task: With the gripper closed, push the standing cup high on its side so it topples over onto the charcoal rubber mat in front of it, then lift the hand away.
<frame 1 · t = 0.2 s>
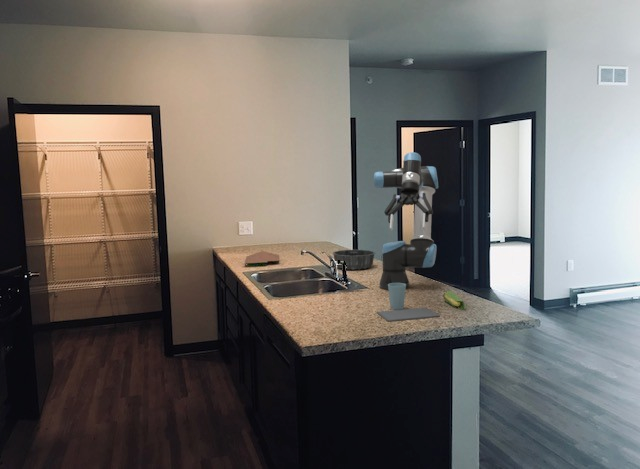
hand: (407, 228, 222), 35 cm above the worktop, tool tilted 35°, fingers open, 13 cm apart
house: (262, 263, 367), on the worktop
edible corn: (454, 306, 234), on the worktop
cup: (397, 308, 232), on the worktop
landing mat: (407, 314, 220), on the worktop
bundt pan: (354, 268, 335), on the worktop
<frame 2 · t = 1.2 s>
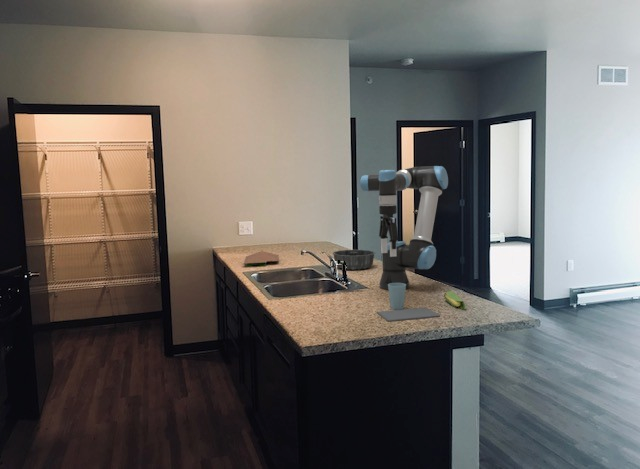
hand: (388, 254, 239), 22 cm above the worktop, tool pointing down, fingers open, 11 cm apart
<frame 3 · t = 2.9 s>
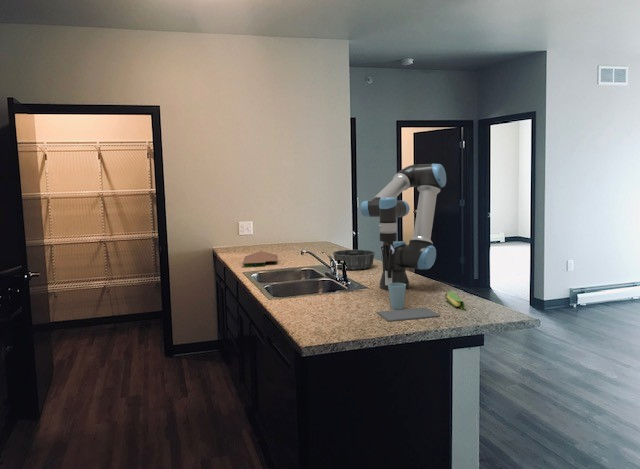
hand: (388, 284, 240), 8 cm above the worktop, tool pointing down, fingers closed
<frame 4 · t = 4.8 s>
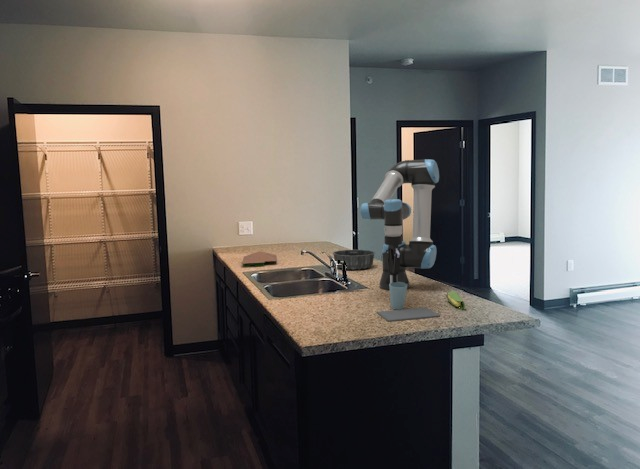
hand: (393, 289, 234), 8 cm above the worktop, tool pointing down, fingers closed
cup: (397, 307, 232), on the worktop, touching gripper
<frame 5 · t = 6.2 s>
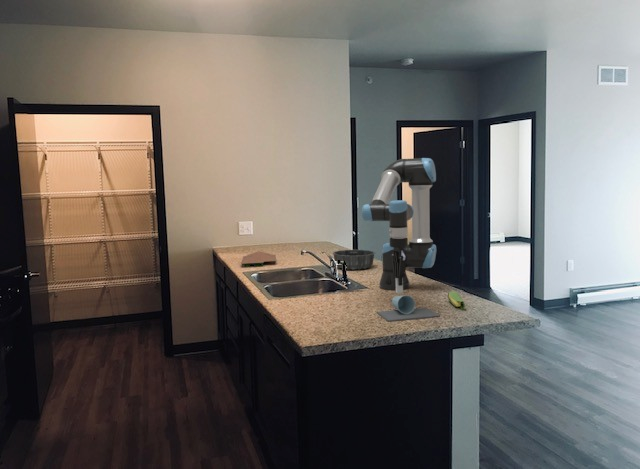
hand: (399, 292, 228), 7 cm above the worktop, tool pointing down, fingers closed
cup: (397, 302, 229), point 3 cm above the worktop, touching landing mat
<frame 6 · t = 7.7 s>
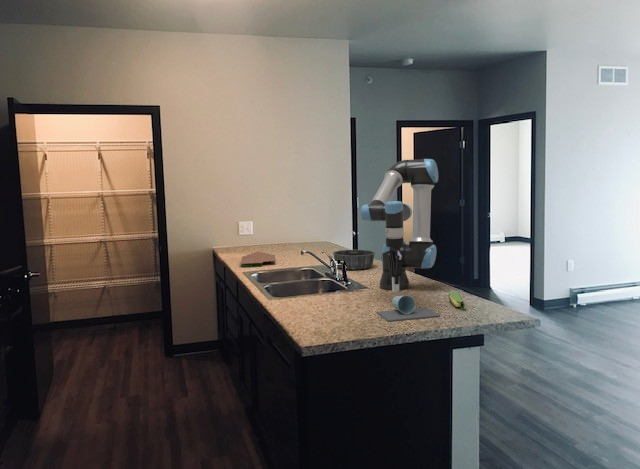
hand: (395, 291, 234), 7 cm above the worktop, tool pointing down, fingers closed
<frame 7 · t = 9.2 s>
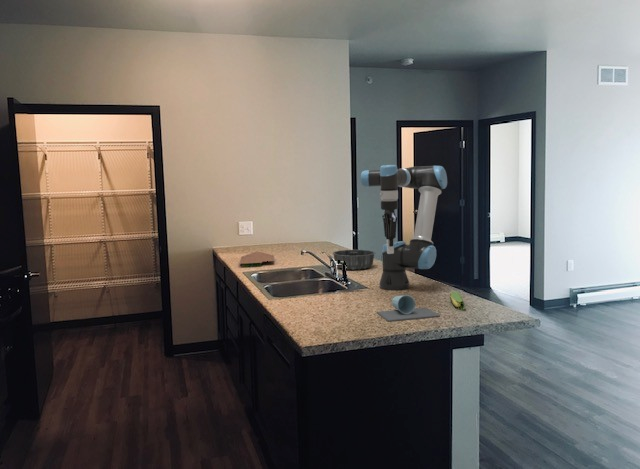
hand: (390, 253, 239), 22 cm above the worktop, tool pointing down, fingers closed
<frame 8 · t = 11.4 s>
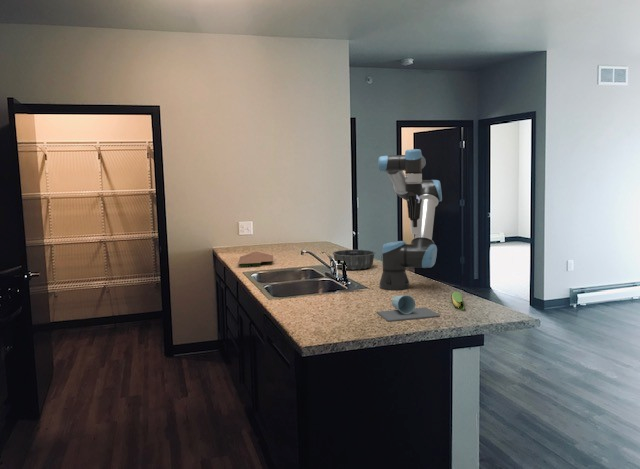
hand: (414, 234, 250), 29 cm above the worktop, tool pointing down, fingers closed
at the end: cup tilted 82°; cup inside the target area (6.3 cm from its centre), point 3.1 cm above the worktop; the gripper is holding nothing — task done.
